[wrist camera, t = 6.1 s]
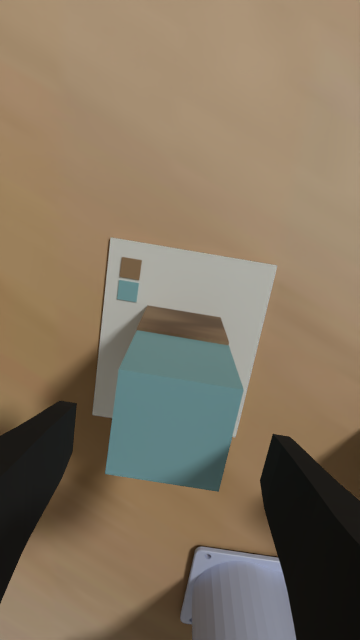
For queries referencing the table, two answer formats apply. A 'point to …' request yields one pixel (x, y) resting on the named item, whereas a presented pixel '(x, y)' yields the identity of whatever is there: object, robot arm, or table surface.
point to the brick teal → (174, 411)
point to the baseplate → (178, 304)
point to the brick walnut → (183, 325)
